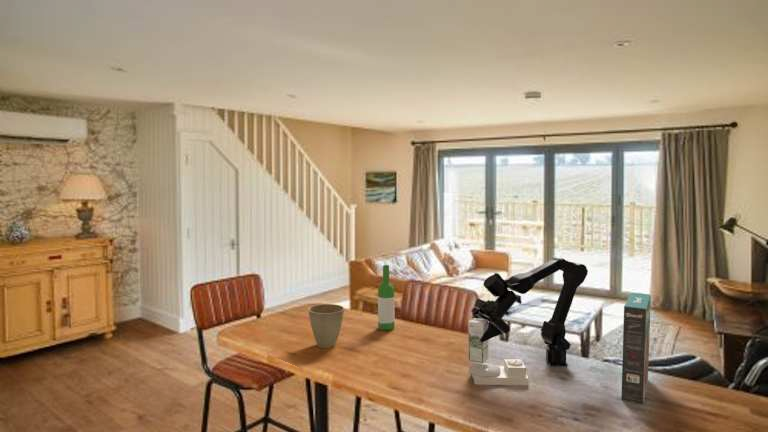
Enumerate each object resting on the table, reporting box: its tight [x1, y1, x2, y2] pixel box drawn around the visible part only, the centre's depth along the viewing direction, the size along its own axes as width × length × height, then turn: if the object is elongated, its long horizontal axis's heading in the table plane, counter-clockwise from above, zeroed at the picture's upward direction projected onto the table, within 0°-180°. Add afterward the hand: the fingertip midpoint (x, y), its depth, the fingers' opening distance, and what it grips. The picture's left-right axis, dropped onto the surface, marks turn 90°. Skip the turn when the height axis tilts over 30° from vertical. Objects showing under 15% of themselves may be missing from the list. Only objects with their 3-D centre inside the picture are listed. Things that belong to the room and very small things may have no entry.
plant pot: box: [307, 303, 345, 349], centre depth 207 cm, size 15×15×16 cm
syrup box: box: [467, 317, 489, 363], centre depth 175 cm, size 6×6×14 cm
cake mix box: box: [621, 292, 652, 405], centre depth 161 cm, size 22×6×30 cm, turn 148°
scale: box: [468, 358, 530, 386], centre depth 171 cm, size 20×11×6 cm, turn 87°
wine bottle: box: [377, 264, 396, 331], centre depth 230 cm, size 8×8×30 cm
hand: (475, 338), depth 174 cm, fingers closed on syrup box, 8 cm apart
